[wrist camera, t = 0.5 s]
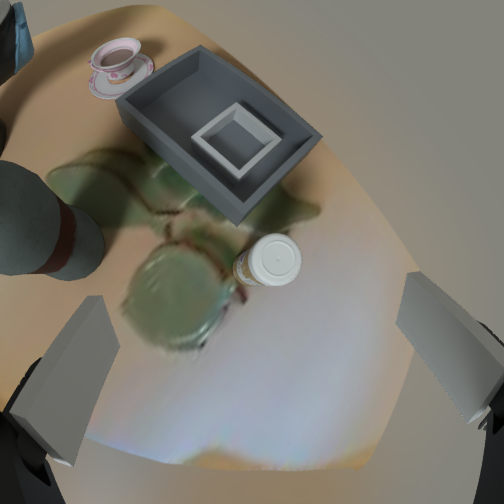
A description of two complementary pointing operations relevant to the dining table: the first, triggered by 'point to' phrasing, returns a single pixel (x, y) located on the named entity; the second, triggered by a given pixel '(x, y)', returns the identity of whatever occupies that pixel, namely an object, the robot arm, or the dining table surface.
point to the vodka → (43, 230)
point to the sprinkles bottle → (269, 261)
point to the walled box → (217, 129)
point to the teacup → (118, 67)
